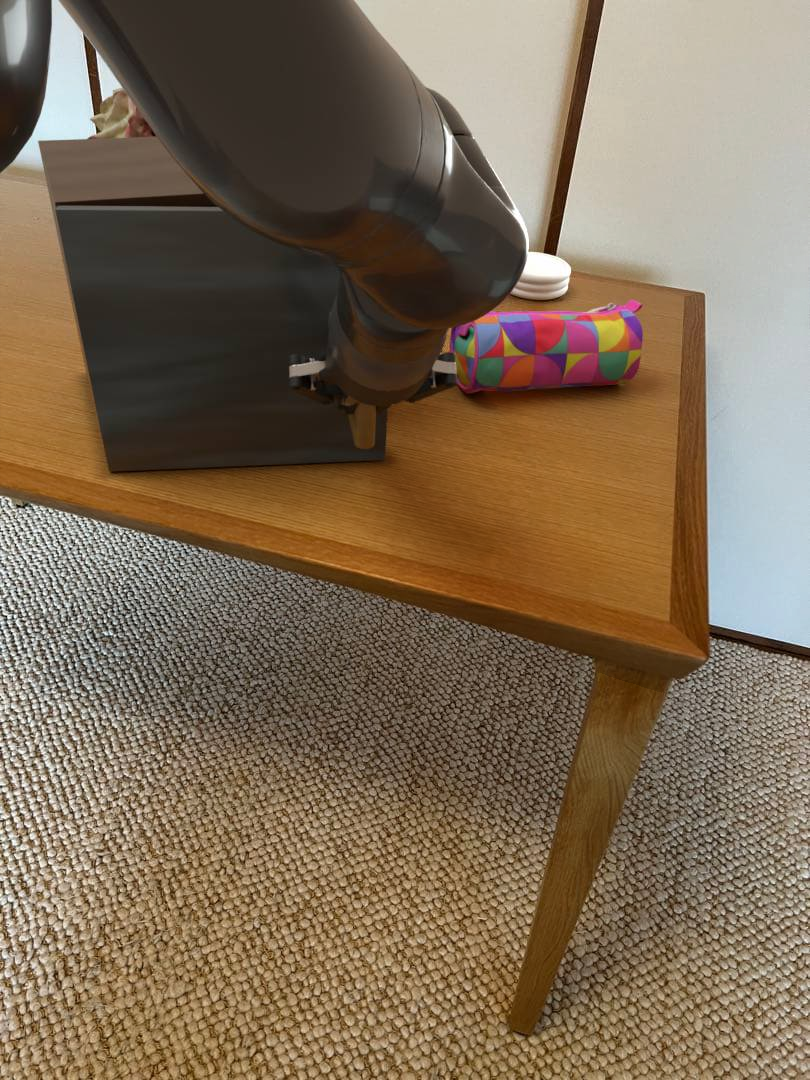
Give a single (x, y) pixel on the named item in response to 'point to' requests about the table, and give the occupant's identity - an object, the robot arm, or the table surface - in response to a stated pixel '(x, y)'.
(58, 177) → the cupboard
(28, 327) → the table surface
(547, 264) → the white stacked discs
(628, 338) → the pencil case
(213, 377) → the door
